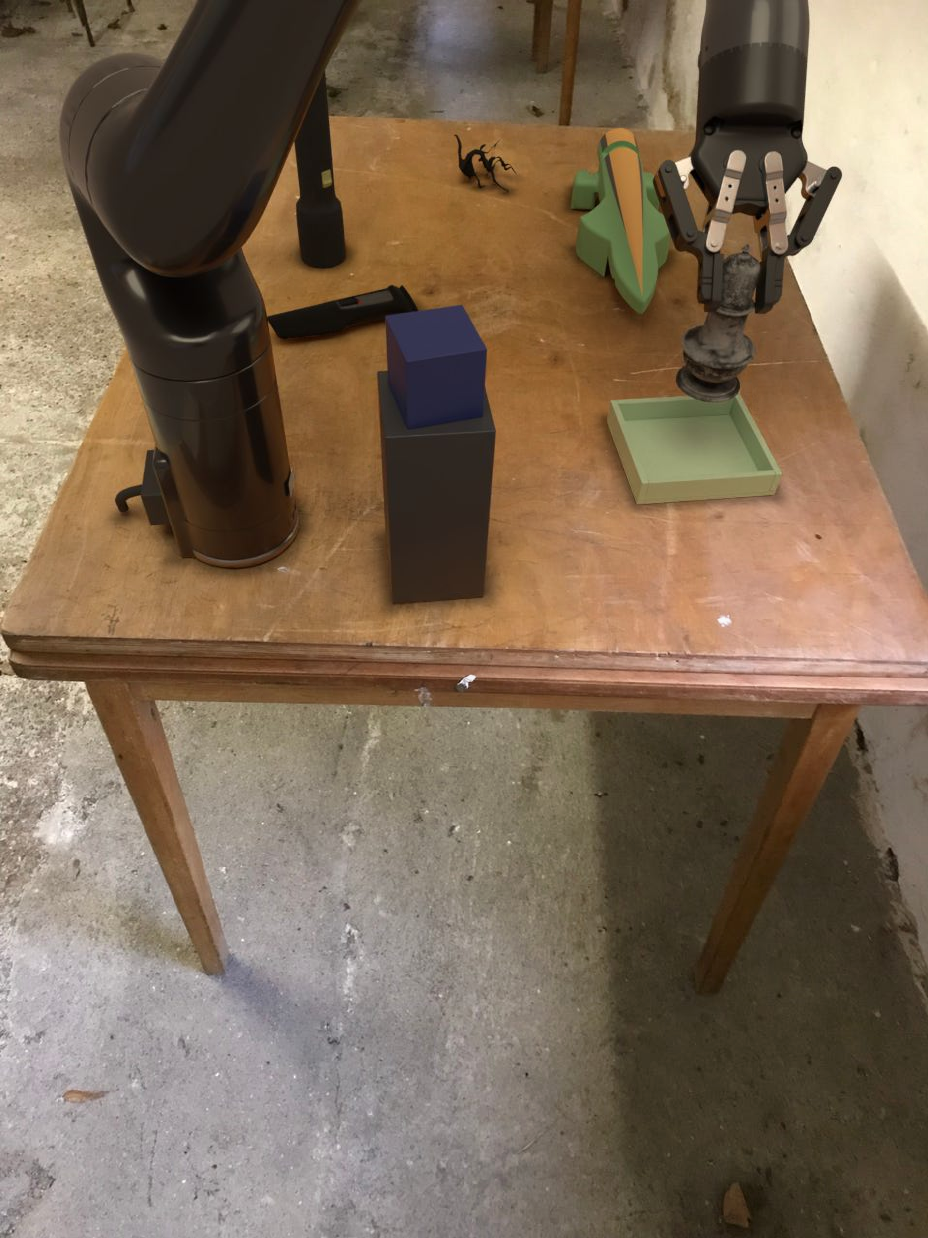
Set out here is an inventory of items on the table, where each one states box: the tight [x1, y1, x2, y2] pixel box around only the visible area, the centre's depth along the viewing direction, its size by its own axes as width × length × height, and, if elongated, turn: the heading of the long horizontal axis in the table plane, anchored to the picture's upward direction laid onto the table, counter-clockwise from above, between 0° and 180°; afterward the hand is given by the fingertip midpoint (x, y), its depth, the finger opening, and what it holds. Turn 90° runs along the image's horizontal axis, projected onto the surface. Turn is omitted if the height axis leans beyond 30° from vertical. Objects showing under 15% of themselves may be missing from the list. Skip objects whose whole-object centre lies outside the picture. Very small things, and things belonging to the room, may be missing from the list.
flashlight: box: [293, 70, 347, 269], centre depth 91 cm, size 5×24×5 cm
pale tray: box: [606, 392, 783, 505], centre depth 79 cm, size 12×11×2 cm
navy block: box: [384, 304, 488, 430], centre depth 56 cm, size 5×5×5 cm
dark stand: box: [376, 370, 497, 605], centre depth 64 cm, size 7×7×16 cm
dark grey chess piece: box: [675, 243, 761, 403], centre depth 69 cm, size 6×6×12 cm
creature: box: [453, 134, 517, 192], centre depth 111 cm, size 8×5×8 cm
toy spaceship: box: [570, 127, 672, 315], centre depth 99 cm, size 32×10×7 cm, turn 179°
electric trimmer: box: [267, 284, 419, 340], centre depth 90 cm, size 4×16×3 cm, turn 115°
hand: (738, 309), depth 67 cm, fingers closed on dark grey chess piece, 3 cm apart
